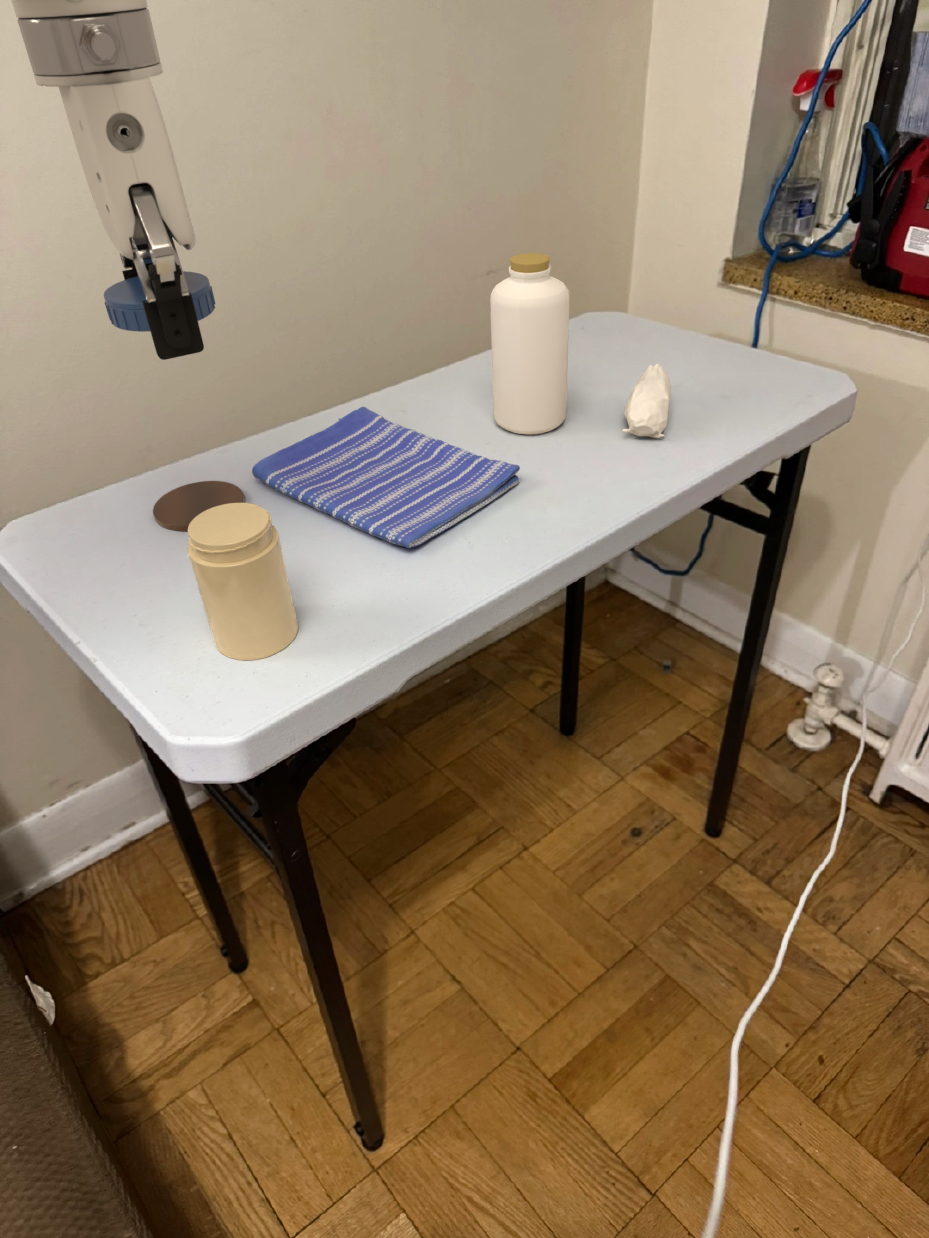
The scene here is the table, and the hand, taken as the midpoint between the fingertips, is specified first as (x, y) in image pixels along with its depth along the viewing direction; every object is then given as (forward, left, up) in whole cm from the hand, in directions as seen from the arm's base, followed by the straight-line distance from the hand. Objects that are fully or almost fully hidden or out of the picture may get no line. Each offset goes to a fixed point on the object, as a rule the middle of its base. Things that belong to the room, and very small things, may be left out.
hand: (169, 335), depth 63 cm
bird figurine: (+49, +5, -22) cm, 54 cm away
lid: (0, 0, +3) cm, 3 cm away
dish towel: (+19, +9, -22) cm, 30 cm away
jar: (0, -9, -22) cm, 24 cm away
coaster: (+1, +14, -22) cm, 26 cm away
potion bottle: (+39, +13, -22) cm, 46 cm away
